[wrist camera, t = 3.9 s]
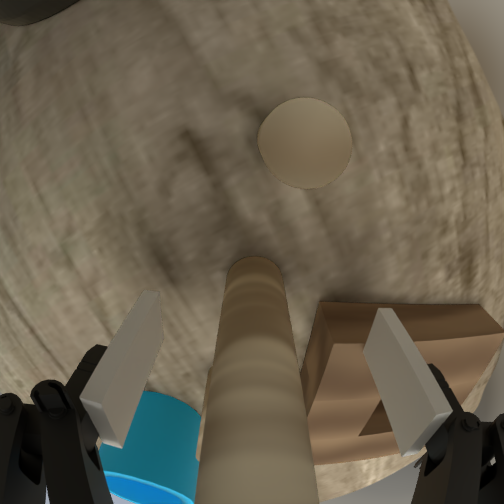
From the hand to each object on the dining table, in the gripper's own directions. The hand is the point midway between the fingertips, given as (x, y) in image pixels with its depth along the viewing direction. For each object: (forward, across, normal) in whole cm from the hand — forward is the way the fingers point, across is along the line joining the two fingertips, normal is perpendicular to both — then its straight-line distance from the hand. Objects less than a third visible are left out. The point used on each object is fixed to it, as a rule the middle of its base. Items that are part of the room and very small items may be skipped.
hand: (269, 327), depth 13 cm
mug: (+4, -10, -15) cm, 18 cm away
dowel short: (+4, 0, +8) cm, 9 cm away
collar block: (+4, +10, -8) cm, 14 cm away
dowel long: (+4, -1, 0) cm, 4 cm away
